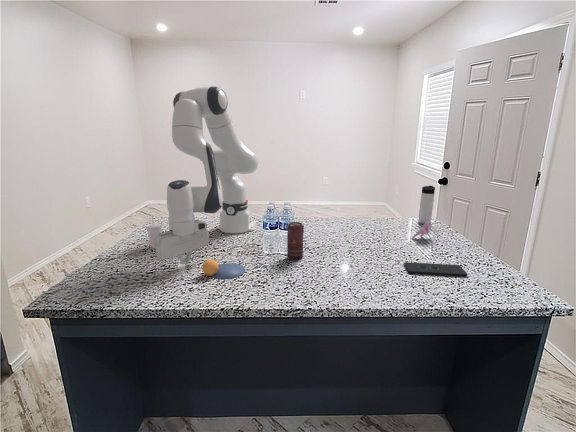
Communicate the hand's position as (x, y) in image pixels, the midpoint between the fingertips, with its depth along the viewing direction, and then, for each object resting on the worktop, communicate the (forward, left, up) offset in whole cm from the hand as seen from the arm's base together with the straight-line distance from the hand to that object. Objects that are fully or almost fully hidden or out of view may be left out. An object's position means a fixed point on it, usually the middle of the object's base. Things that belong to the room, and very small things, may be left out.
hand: (185, 263), depth 123 cm
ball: (+4, +12, +1) cm, 12 cm away
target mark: (0, +16, -2) cm, 16 cm away
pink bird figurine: (-50, +92, -2) cm, 105 cm away
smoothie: (-17, -22, -2) cm, 28 cm away
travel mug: (-78, +98, -2) cm, 125 cm away
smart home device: (-15, +89, -2) cm, 91 cm away
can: (-17, +38, -2) cm, 42 cm away
